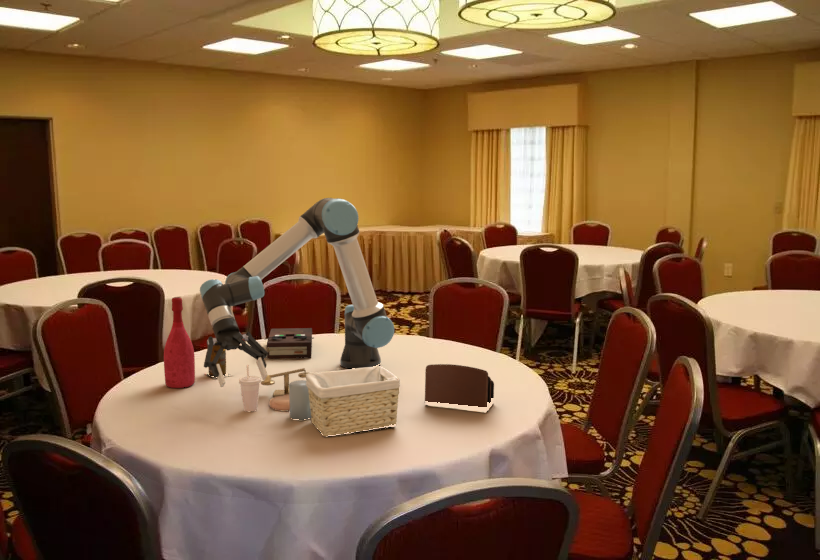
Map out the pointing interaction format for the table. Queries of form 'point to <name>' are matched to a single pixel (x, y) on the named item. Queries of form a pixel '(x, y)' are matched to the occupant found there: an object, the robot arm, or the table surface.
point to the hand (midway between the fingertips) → (244, 381)
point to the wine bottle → (178, 352)
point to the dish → (280, 403)
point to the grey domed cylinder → (299, 400)
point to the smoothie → (249, 391)
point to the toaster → (458, 385)
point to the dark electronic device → (290, 343)
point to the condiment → (219, 360)
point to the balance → (286, 381)
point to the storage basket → (353, 399)
